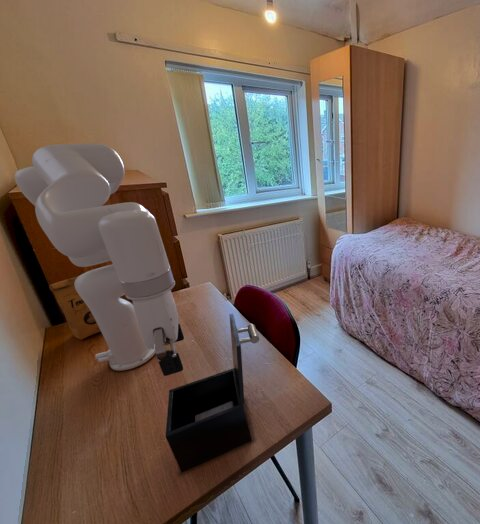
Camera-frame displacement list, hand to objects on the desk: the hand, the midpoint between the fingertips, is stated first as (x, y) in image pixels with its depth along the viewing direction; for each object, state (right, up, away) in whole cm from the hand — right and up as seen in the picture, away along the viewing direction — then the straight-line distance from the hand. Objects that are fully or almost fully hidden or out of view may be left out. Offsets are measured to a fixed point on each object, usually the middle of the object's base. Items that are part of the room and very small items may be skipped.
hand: (175, 355), depth 58 cm
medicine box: (0, -21, +7) cm, 22 cm away
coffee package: (-59, -7, +49) cm, 77 cm away
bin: (+3, -22, +11) cm, 25 cm away
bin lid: (+10, -2, +6) cm, 12 cm away
